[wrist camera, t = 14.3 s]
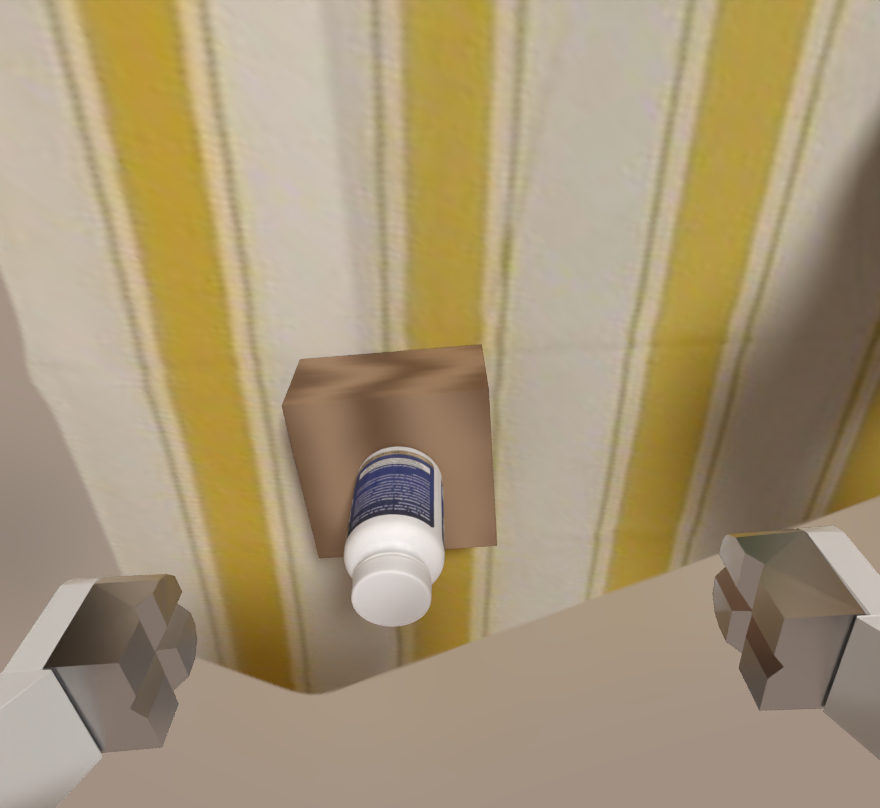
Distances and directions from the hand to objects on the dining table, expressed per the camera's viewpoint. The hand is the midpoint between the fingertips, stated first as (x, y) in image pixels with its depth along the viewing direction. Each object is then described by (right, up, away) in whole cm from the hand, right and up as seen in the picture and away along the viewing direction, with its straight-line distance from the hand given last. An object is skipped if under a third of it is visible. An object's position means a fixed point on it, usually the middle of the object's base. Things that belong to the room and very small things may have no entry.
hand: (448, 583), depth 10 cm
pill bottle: (-3, -2, +31) cm, 31 cm away
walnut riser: (-3, +1, +36) cm, 36 cm away
